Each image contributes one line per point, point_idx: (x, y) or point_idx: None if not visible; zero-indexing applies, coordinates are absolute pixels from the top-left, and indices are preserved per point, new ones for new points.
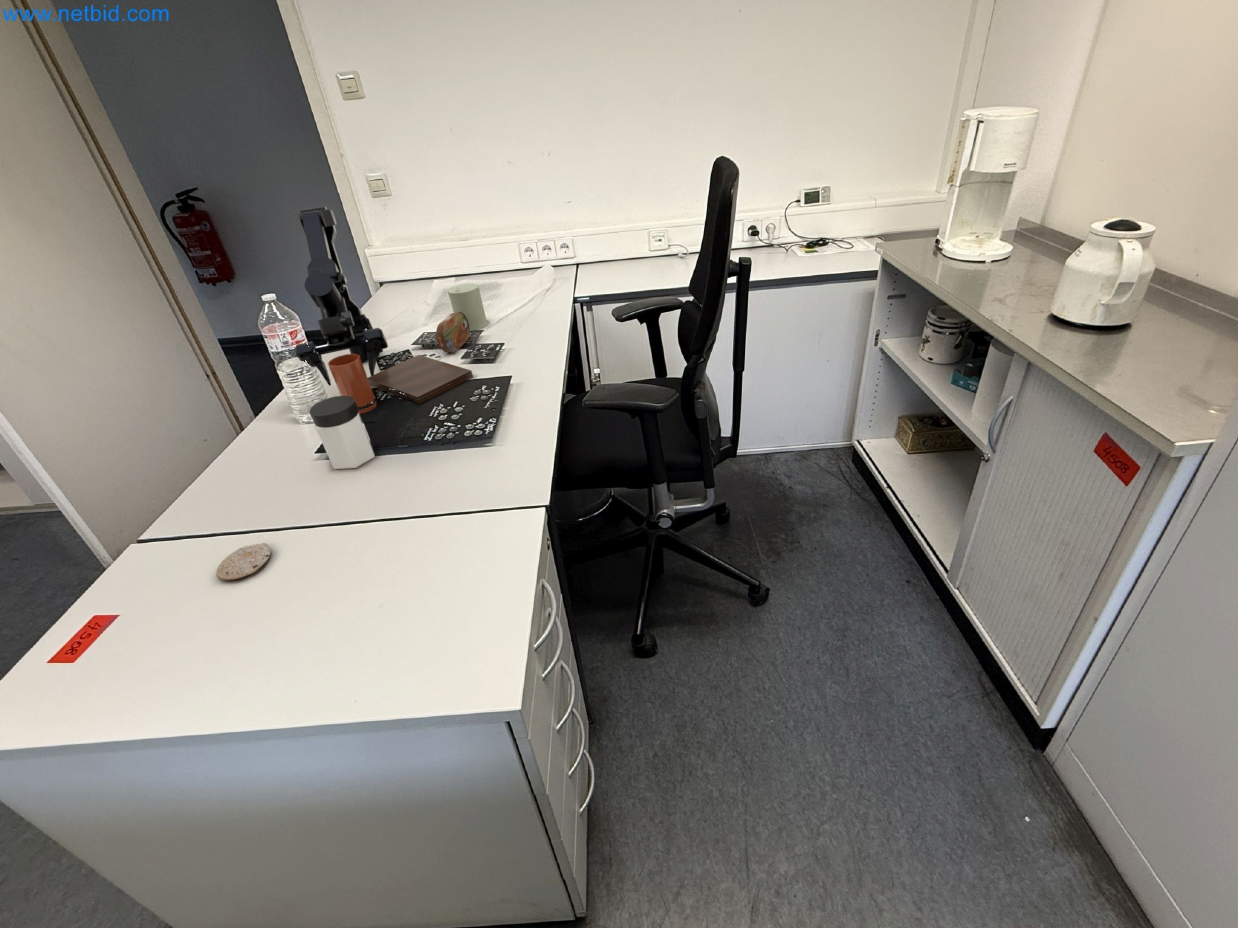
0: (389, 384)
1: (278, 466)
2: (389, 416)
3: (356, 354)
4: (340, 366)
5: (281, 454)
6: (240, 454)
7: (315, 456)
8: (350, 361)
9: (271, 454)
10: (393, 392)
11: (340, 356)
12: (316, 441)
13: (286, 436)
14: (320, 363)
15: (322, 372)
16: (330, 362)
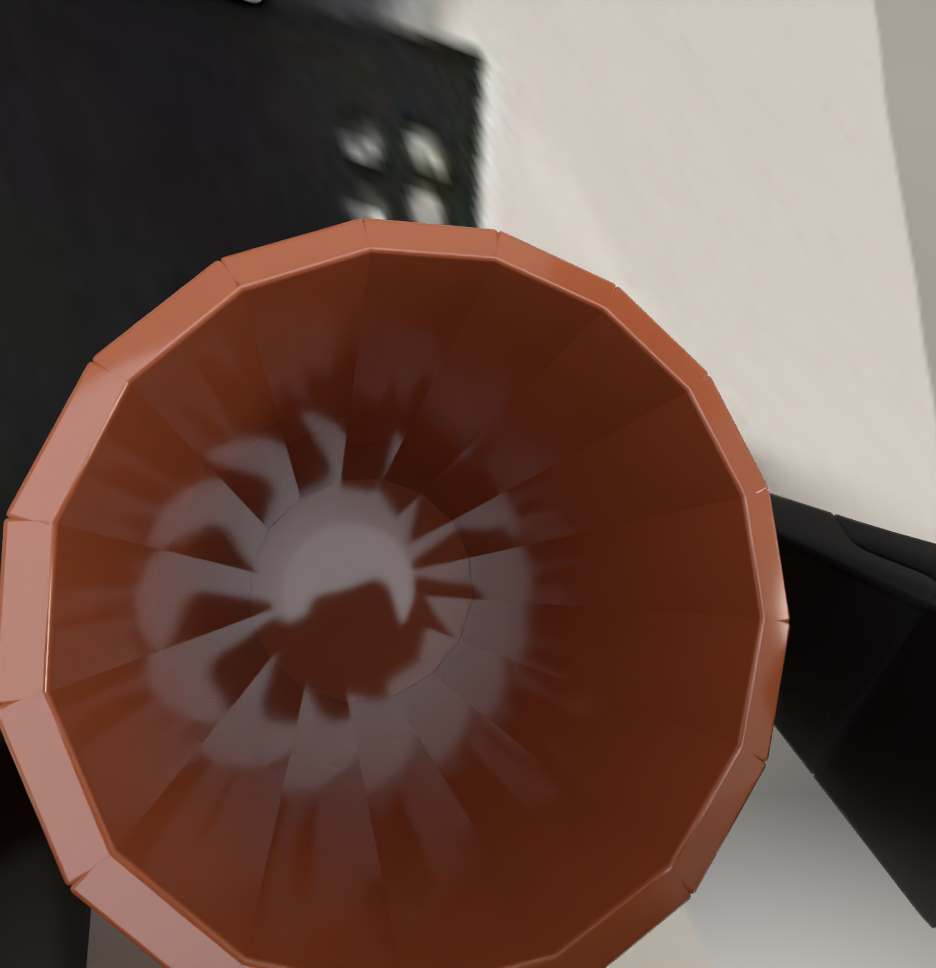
0: (126, 940)
1: (621, 6)
2: (69, 363)
3: (173, 957)
4: (414, 231)
5: (663, 117)
6: (867, 199)
7: (463, 18)
8: (432, 874)
9: (715, 138)
10: None
11: (646, 876)
12: (526, 183)
13: (733, 308)
14: (923, 588)
15: (778, 508)
16: (743, 562)
